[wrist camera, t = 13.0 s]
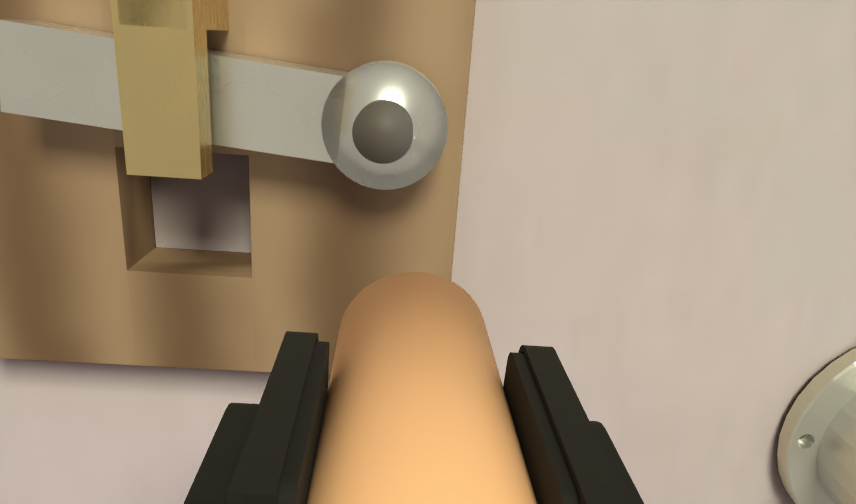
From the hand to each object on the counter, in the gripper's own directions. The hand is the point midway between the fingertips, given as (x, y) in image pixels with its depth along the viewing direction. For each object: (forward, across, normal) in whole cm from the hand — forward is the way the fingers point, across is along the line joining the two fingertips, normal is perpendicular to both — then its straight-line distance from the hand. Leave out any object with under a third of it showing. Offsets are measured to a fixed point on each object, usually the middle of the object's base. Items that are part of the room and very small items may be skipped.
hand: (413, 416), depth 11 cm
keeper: (+15, +8, -4) cm, 18 cm away
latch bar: (+15, +6, -3) cm, 17 cm away
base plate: (+18, +8, 0) cm, 20 cm away
